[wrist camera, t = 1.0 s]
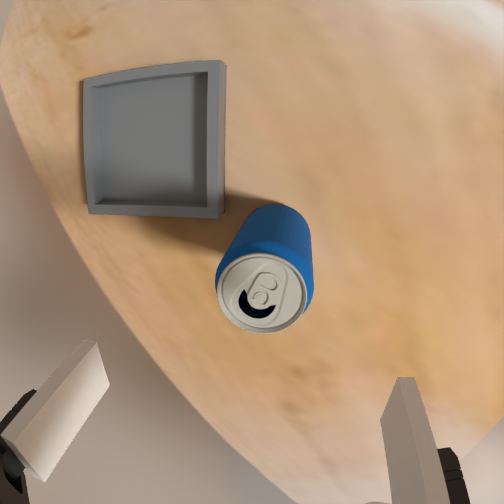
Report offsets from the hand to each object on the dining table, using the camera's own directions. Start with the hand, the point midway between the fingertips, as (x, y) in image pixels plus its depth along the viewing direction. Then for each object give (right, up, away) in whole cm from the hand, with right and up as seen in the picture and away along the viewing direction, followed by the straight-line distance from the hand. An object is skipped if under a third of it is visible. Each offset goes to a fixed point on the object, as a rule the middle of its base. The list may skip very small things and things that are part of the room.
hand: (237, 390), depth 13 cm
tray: (-9, +17, +17) cm, 25 cm away
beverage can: (+3, +7, +19) cm, 20 cm away
